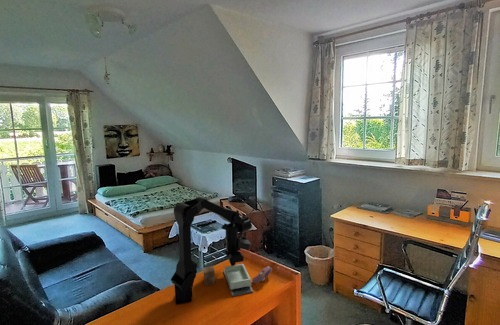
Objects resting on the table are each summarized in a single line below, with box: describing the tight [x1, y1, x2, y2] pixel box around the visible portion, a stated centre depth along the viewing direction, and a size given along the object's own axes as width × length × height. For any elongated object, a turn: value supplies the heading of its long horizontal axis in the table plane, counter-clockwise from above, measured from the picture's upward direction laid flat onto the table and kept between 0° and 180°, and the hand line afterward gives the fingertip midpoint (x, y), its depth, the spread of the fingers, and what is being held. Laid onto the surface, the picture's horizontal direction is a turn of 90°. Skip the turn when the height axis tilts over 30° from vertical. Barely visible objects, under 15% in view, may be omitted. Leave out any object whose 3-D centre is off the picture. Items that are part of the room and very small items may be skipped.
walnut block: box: [202, 265, 216, 286], centre depth 132 cm, size 4×4×6 cm
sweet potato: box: [251, 265, 273, 284], centre depth 132 cm, size 10×5×7 cm, turn 145°
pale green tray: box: [224, 263, 252, 290], centre depth 131 cm, size 9×14×4 cm, turn 15°
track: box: [223, 269, 254, 298], centre depth 132 cm, size 9×20×1 cm, turn 15°
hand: (233, 267), depth 139 cm, fingers closed
